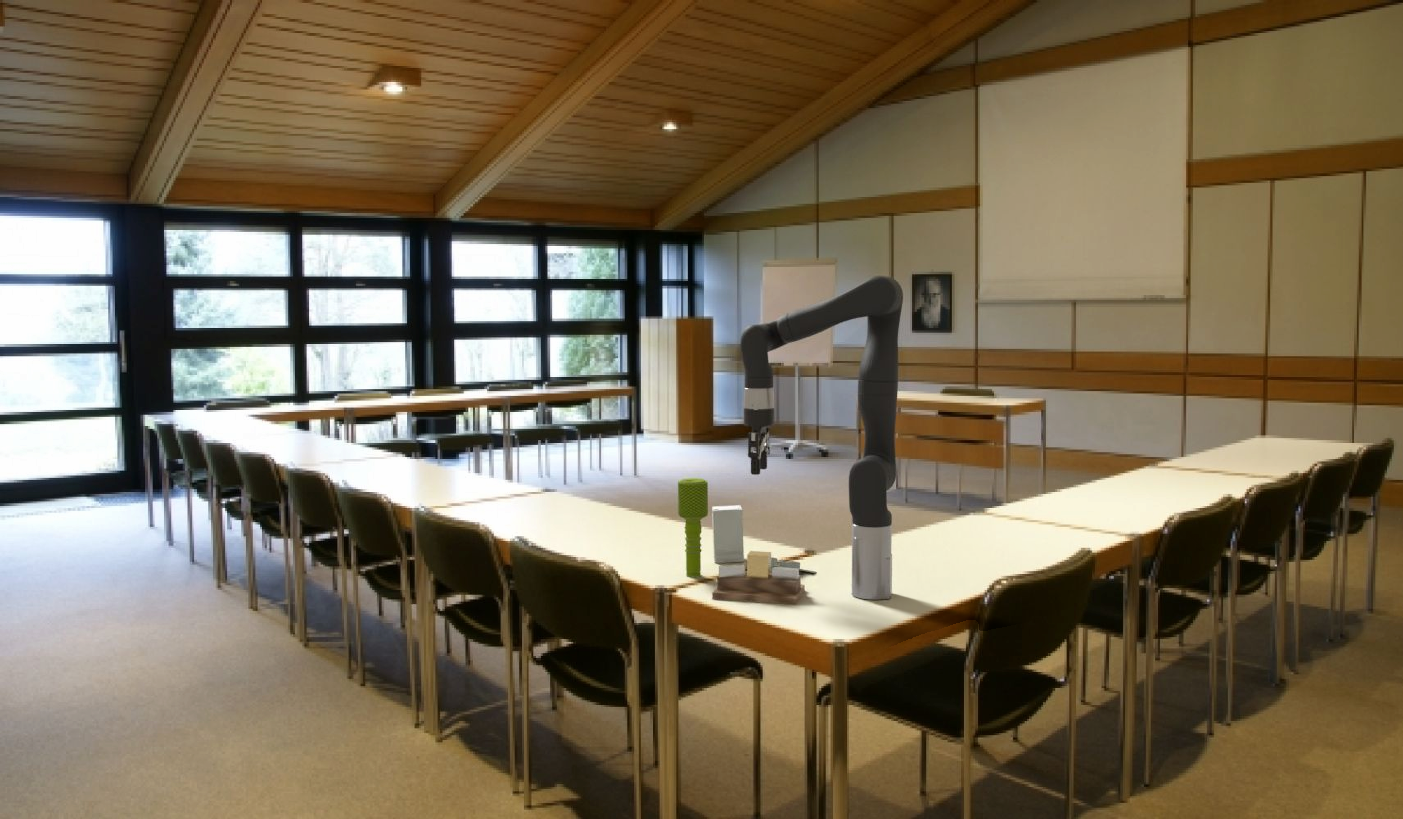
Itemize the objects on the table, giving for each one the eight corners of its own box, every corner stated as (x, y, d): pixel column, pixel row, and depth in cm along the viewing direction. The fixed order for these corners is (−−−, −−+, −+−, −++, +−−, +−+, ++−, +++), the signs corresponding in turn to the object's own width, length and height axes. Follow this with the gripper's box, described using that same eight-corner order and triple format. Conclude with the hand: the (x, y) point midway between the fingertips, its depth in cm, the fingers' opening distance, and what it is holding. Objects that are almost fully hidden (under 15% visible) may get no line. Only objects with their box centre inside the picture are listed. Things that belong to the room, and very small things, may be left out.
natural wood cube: (747, 577, 240) (747, 554, 240) (750, 573, 244) (750, 551, 243) (768, 578, 239) (767, 556, 238) (771, 574, 243) (771, 552, 242)
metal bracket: (790, 561, 252) (742, 552, 261) (786, 584, 251) (738, 574, 261) (820, 566, 263) (773, 557, 272) (816, 588, 262) (769, 579, 272)
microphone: (702, 580, 255) (701, 482, 253) (674, 577, 258) (673, 480, 255) (712, 572, 263) (712, 477, 260) (685, 570, 265) (684, 475, 263)
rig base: (804, 590, 245) (804, 572, 244) (796, 604, 233) (796, 585, 233) (724, 585, 250) (724, 567, 250) (712, 598, 238) (712, 580, 238)
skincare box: (742, 557, 278) (742, 504, 277) (744, 563, 272) (744, 508, 271) (712, 558, 278) (711, 505, 277) (713, 563, 272) (712, 509, 271)
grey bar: (798, 577, 240) (798, 568, 240) (795, 582, 236) (795, 572, 236) (720, 572, 245) (720, 563, 244) (716, 577, 241) (716, 568, 240)
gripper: (750, 403, 255) (750, 467, 257) (737, 408, 242) (737, 475, 243) (779, 403, 253) (779, 468, 255) (768, 409, 240) (768, 476, 241)
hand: (759, 471), depth 249 cm, fingers open, 8 cm apart
